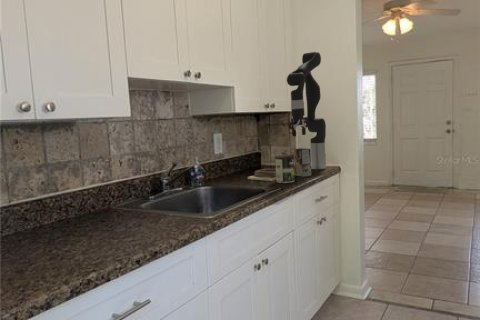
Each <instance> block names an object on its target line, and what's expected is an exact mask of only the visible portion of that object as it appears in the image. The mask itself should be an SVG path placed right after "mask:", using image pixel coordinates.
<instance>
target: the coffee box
mask: <svg viewBox="0 0 480 320" xmlns="http://www.w3.org/2000/svg"><path fill="white" fill-rule="evenodd" d="M293 156H294V176H297V177H303V178H304V177H311V176H312V169H311V148H306V147H304V148H303V147H301V148H294V149H293Z"/></svg>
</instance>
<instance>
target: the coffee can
mask: <svg viewBox="0 0 480 320" xmlns="http://www.w3.org/2000/svg"><path fill="white" fill-rule="evenodd" d="M274 159H275V160H274V161H275V169H276V180H275V181H276V183H277V184H278V183H280V184H291V183H295V179H296V178H295V177H296V176H295V164H294V155H292V154H291V155H289V154H286V155H285V154H283V155H276V156H274Z"/></svg>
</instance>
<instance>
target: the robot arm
mask: <svg viewBox="0 0 480 320" xmlns="http://www.w3.org/2000/svg"><path fill="white" fill-rule="evenodd" d="M321 56H322V55H321V54H320V52H318V51H311V52H306V53H303V54H302V60H301V63H302V64H300V65H299V66H298V67H297V68H296V69H295V70H293V71H292V72H290V73H289V74H288V75H287V77H286V83H287V85H288V86H290V87H295V86H297V88H295V89H293V90H291V91H290V101H291V102H290V110H291V112H290V113H291V117H292V118H289V119H288V129H289V130H291V131H292V132H291V133H292V134H291V135H292V137H293V138H294V137H297V127H298V126H300V127H301V135H302V136H306V134H307V133H306V132H307V131H306V129H307V130H308V132H310V133H316V135H315V136H313V137H311V138H310V140H309V141H310V154H311V170H325V169H326V168H327V157H326V140H325V139H326V137H327V135H326V134H327V133H326V131H327V130H326V129H327V125H326V120H325V119H324V118H322V117H316V109H317V107H318V105H319V103H320V100H321V87H320V85H319V83H318V82H317V81H316V79H315V78H314V77H313V75H312V71H313V70H314V69H315V68H317V67H319V66H320V64H321V62H322V57H321ZM304 89H305V97H306V110H307V111H306V116H305V101H304Z"/></svg>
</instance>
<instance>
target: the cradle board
mask: <svg viewBox="0 0 480 320" xmlns="http://www.w3.org/2000/svg"><path fill="white" fill-rule="evenodd" d="M247 180H252V181H253V180H254V181H265V182H266V181H267V182H274V181H276V168H263V169H258V170H255V171H254V175H251V176H247Z"/></svg>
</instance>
